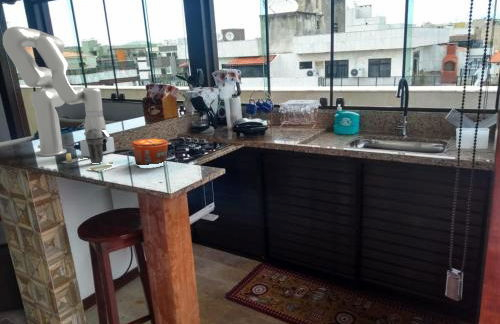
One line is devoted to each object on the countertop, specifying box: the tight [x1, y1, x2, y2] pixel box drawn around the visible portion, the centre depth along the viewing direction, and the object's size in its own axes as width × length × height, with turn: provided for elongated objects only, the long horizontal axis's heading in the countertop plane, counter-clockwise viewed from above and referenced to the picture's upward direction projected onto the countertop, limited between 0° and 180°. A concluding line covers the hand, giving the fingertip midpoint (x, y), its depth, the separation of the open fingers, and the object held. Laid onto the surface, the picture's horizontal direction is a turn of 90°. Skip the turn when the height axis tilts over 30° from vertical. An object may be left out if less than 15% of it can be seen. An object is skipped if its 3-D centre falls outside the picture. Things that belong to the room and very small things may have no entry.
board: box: [86, 160, 114, 171], centre depth 158 cm, size 8×18×1 cm, turn 153°
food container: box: [130, 137, 170, 165], centre depth 160 cm, size 16×16×11 cm
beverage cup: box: [84, 119, 104, 164], centre depth 161 cm, size 7×7×20 cm
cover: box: [79, 136, 116, 158], centre depth 178 cm, size 7×14×7 cm, turn 154°
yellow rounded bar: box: [60, 152, 86, 165], centre depth 168 cm, size 5×12×4 cm, turn 153°
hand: (98, 150), depth 179 cm, fingers closed on cover, 7 cm apart
